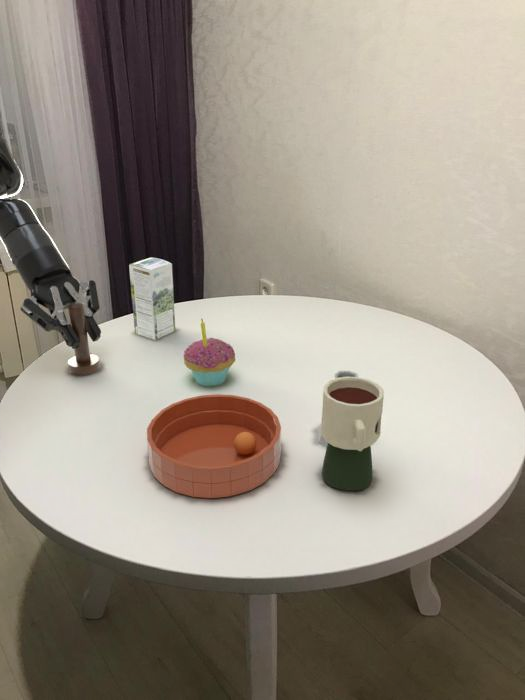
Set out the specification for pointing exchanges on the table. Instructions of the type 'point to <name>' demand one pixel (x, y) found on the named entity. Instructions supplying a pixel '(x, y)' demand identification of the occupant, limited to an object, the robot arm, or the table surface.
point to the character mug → (350, 430)
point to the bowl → (213, 445)
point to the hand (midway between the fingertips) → (87, 342)
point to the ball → (245, 443)
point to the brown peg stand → (81, 345)
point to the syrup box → (152, 297)
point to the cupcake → (209, 359)
